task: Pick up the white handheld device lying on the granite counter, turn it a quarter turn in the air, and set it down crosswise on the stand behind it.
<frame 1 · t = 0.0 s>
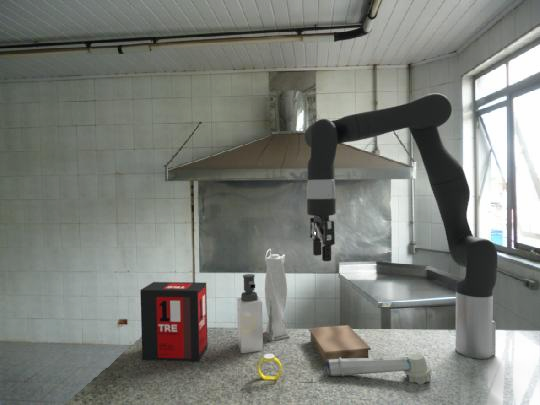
hand: (321, 257, 97), 29 cm above the countertop, tool pointing down, fingers open, 8 cm apart
watch: (269, 379, 92), on the countertop
skyscraper: (275, 335, 119), on the countertop
white handheld device: (377, 378, 92), on the countertop
stand: (337, 350, 107), on the countertop
soap dispenser: (250, 349, 109), on the countertop
cleaning product box: (176, 354, 107), on the countertop
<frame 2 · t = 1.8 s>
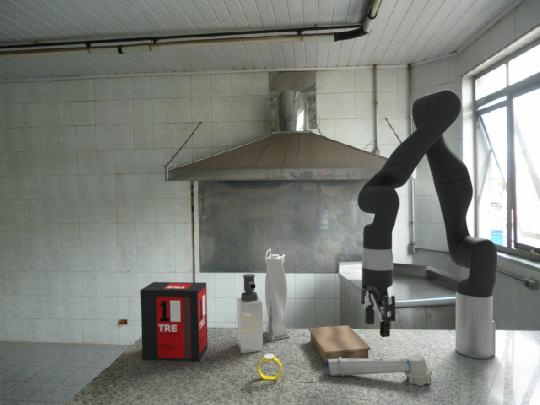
hand: (376, 329, 91), 12 cm above the countertop, tool pointing down, fingers open, 8 cm apart
nothing on the countertop moved.
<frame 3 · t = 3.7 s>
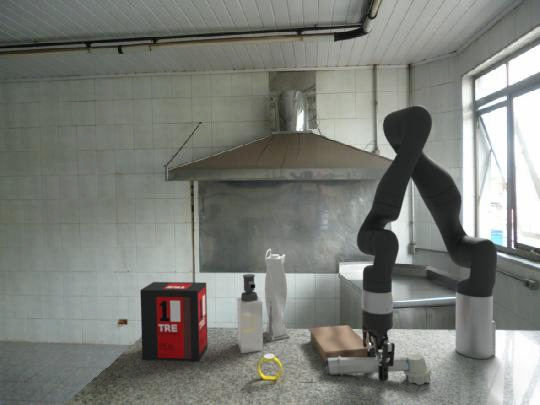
hand: (377, 373, 92), 1 cm above the countertop, tool pointing down, fingers closed on white handheld device, 6 cm apart
white handheld device: (376, 378, 92), on the countertop, touching gripper
everything else where it was.
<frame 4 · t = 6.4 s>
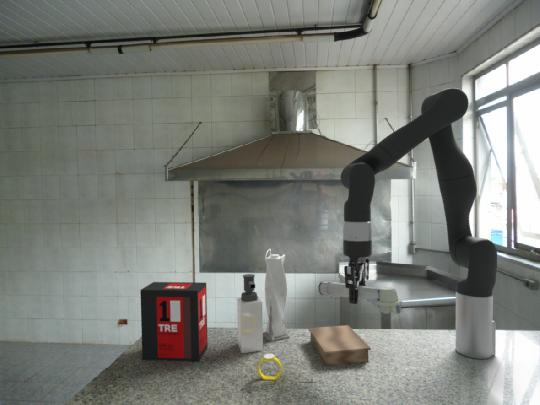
hand: (357, 299, 98), 18 cm above the countertop, tool pointing down, fingers closed on white handheld device, 6 cm apart
white handheld device: (357, 304, 98), point 16 cm above the countertop, touching gripper
everything else where it was.
when the fingers open (6 cm above the countertop, at t = 9.5 s): white handheld device drops 1 cm, resting on stand.
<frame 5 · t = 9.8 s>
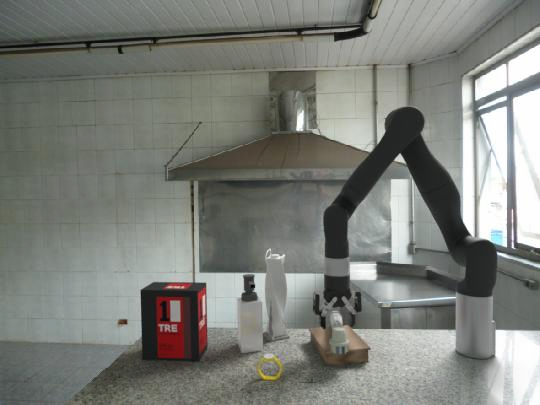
hand: (337, 327, 107), 7 cm above the countertop, tool pointing down, fingers open, 8 cm apart
white handheld device: (337, 337, 107), point 4 cm above the countertop, touching stand
everything else where it was.
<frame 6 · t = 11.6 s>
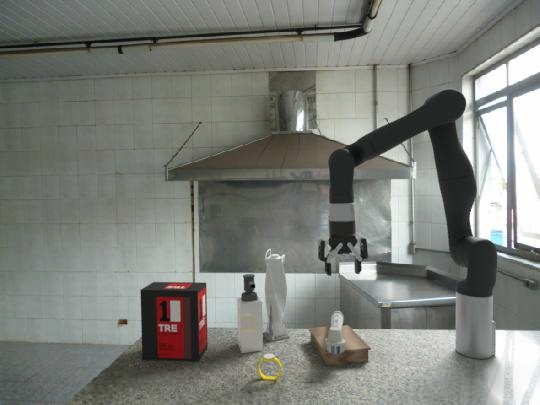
hand: (343, 274, 106), 23 cm above the countertop, tool pointing down, fingers open, 8 cm apart
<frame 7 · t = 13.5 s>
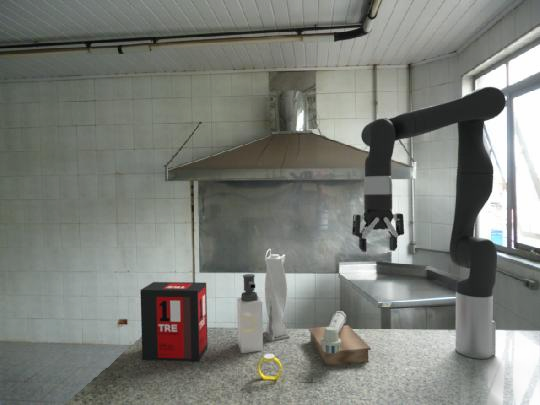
hand: (378, 251, 101), 30 cm above the countertop, tool pointing down, fingers open, 8 cm apart
at the end: white handheld device inside the target area on the stand (0.6 cm from its centre), point 3.8 cm above the stand's base; white handheld device touching stand; the gripper is holding nothing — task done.
